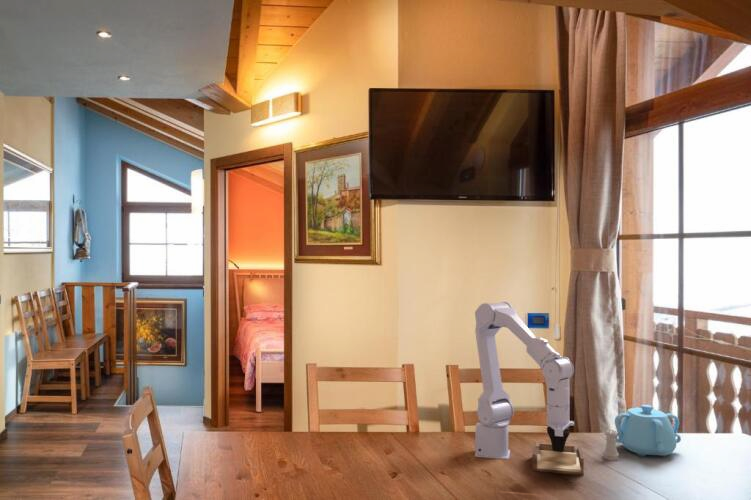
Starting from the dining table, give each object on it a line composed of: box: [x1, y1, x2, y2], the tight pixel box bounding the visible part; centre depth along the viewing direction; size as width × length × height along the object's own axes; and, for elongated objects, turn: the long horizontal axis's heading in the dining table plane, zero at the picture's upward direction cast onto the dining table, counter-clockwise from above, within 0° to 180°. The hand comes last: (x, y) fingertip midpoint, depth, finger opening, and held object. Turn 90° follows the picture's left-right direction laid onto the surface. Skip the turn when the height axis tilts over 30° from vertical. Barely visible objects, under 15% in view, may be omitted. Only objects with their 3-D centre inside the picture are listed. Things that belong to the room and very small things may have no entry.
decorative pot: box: [614, 404, 682, 458], centre depth 183 cm, size 16×16×14 cm
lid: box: [537, 450, 581, 472], centre depth 161 cm, size 11×10×3 cm
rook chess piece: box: [602, 429, 620, 461], centre depth 176 cm, size 4×4×8 cm
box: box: [532, 441, 585, 476], centre depth 169 cm, size 13×11×5 cm
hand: (558, 456), depth 163 cm, fingers closed
